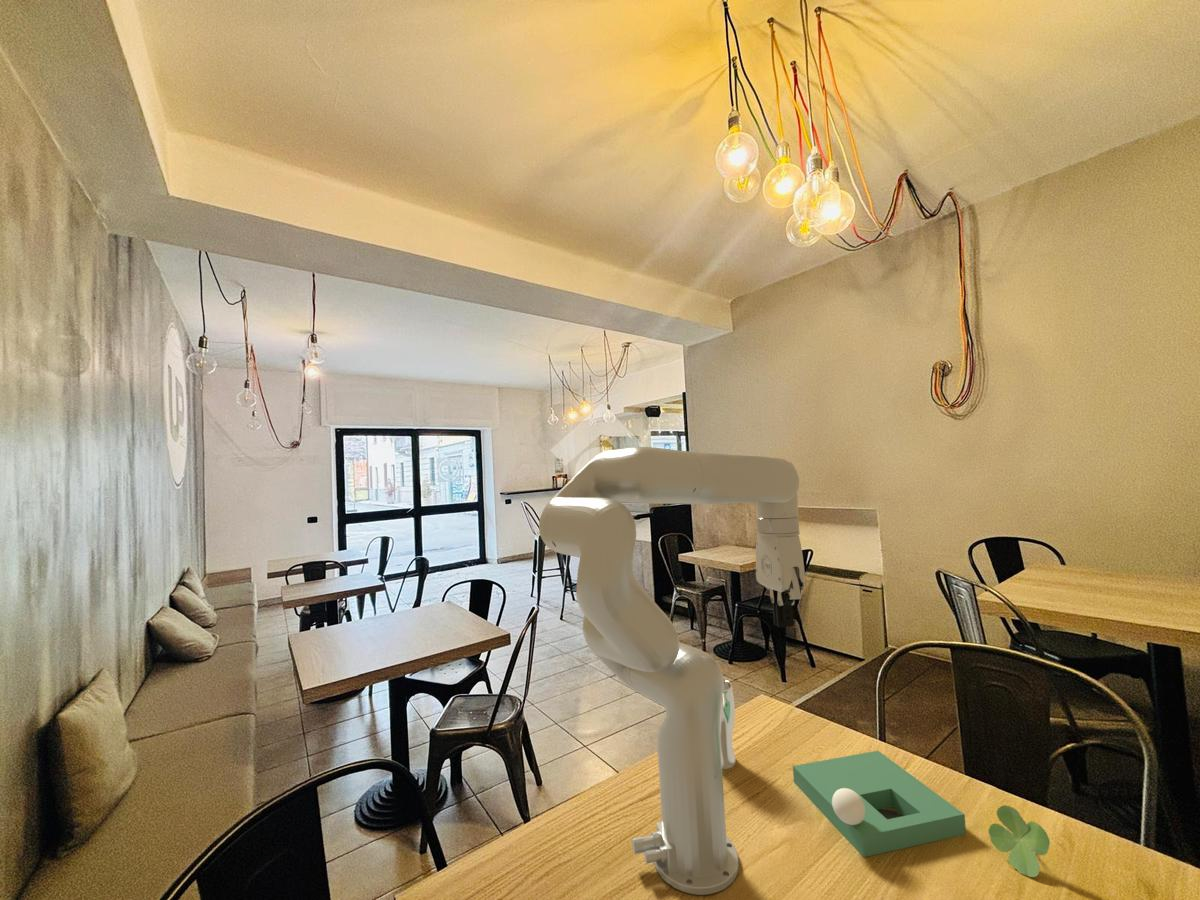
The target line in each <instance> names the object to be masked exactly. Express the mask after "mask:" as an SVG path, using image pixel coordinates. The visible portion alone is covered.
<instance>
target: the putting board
mask: <svg viewBox="0 0 1200 900" xmlns="http://www.w3.org/2000/svg"><path fill="white" fill-rule="evenodd" d="M792 773H793V774H792V775H793V776H792V777H793V783H794V784H795V785H796V786H797V787H798V789H800V791H801V792H802V793H803V794H804V795H805V796H806V797H807V798H808V799H809V800H810V802H812V804H813V805H815V807H816V809H818V810H819V811H820V812H821V813H822V815H824V816H825V818H826V819H827V820H828V821H829V823H831V824H832V825H833V826H834V827H835V828H836V829H837V831H838V832H840V833H841V834H842V836H843V837H844V838H845V839H846V840H847V841H848V842H849V843H850V844H851V845H852V846H853V847H854V848H855V849H856V851H857V852H858V853H859V854H860V855H861V856H862V857H863V858H867V857H871V856H876V855H881V854H884V853H889V852H893V851H898V850H903V849H906V848H911V847H915V846H919V845H920V846H921V845H925V844H930V843H932V842H937V841H943V840H947V839H950V838H954V837H955V838H956V837H960V836H964V835H966V834H967V829H966V819H965V818H966V816H965V815H966V814H965V813H963V812H962V811H961V810H960V809H958V808H956V807H955V805H952V803H951V802H949V801H947V799H945V798H943V797H942V796H941V795H939V794H938V793H936V792H935V791H933V790H932V789H931V788H930V787H929V786H927V785H926V784H924V783H923V782H922V781H920V780H919V779H917V778H916V777H915V776H913V775H912V774H910V773H909V772H908V771H907V770H905V769H904V768H902V767H901V766H900V765H898V764H897V763H896V762H894V761H893V760H892V759H890V757H887V756H886V755H885V754H884V753H882V752H881V751H879V750H874V751H869V752H862V753H857V754H850V755H845V756H840V757H836V758H835V757H834V758H829V759H824V760H819V761H814V762H807V763H803V764H797V765H792ZM841 788H847V789H851V790H853V791H854V792H856V793H857V794H858V795H859V796H860V798H861V799H862V801H863V803H864V806H865V817H864V819H863V821H862V822H861V823H859V824H857V825H850V824H847V823H845V822H843V821H842V820H840V819H839V818H838V816H837V815H836V813H835V812H834V809H833V806H832V798H833V795H834V793H835V792H836V791H837V790H839V789H841ZM889 808H894V809H895V810H890V809H889ZM896 811H897V812H896Z"/></svg>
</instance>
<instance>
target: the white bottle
mask: <svg viewBox="0 0 1200 900" xmlns="http://www.w3.org/2000/svg"><path fill="white" fill-rule="evenodd" d="M733 692H734V690H733V684H732V682H730V681H729V680H727V679H725V678H723V695H722V703H721V711H720V747H721V761H722V770H729V769H732V768H733V767H734V766H735V765H736V755H735V751H734V747H733V745H734V743H733V736H734V727H735V726H734V725H735V718H736V717H735V715H736V713H735V712H736V711H735V699H734V698H735V697H734V693H733Z"/></svg>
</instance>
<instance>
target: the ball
mask: <svg viewBox="0 0 1200 900" xmlns="http://www.w3.org/2000/svg"><path fill="white" fill-rule="evenodd" d="M832 806H833V809H834V812H835V813H836V815H837V816H838V818H839V819H840V820H842V821H843V822H845V823H847V824H850V825H857V824H859V823H861V822H862V821H863V819H864V817H865V806H864V803H863V801H862V799H861V798H860V796H859V795H858V794H857V793H856V792H854V791H853V790H851V789H847V788H841V789H839V790H837V791H836V792H835V793H834V795H833V798H832Z"/></svg>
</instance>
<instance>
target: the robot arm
mask: <svg viewBox="0 0 1200 900" xmlns="http://www.w3.org/2000/svg"><path fill="white" fill-rule="evenodd" d="M799 487H800V477H799V474H798V471H797V469H796V467H795V465H794V464H793V463H792V462H790V461H789V460H786V459H783V458H777V457H768V456H757V455H743V454H742V455H738V454H737V455H736V454H726V453H717V452H715V453H713V452H700V451H689V450H678V449H670V448H661V447H651V446H650V447H649V446H635V447H633V446H632V447H626V448H617V449H610V450H604V451H603V452H600V453H599V454H597V455H596V456H594V457H593V458H592V459H591V460H590V461H589V462H588V463H587V464H585V465H584V466H583V467H582V468H581V469H580V470H579V471H578V472H577V473H576V474H575V475H574V476H573V477H572V478H571V479H570V480H569V481H568V482H567V483H565V485H564V486H563V487H562V488H561V489H559V491H558V492H557V493H556V494H555V495H554V496H553V497H552V498H551V499H550V500H549V501H548V502H547V504H546V505H545V506H544V508H543V510H542V512H541V515H540V517H539V523H538V524H539V525H538V530H539V535H540V538H541V540H542V542H543V543H544V545H545V546H546V547H547V548H548V549H549V550H551V551H553V552H555V553H558V554H560V555H565V556H571V557H576V558H579V563H578V567H577V577H576V589H575V590H576V594H575V595H576V599H577V604H578V606H579V608H580V610H581V612H582V613H583V615H584V616H583V621H582V632H583V633H582V634H583V636H584V641H585V643H586V645H587V647H588V649H590V651H591V652H592V653H593V654H594V655H595V656H596V657H597V658H598V659H599V660H600V662H601V663H603V664H604V665H605V666H606V668H608V669H609V670H610V671H611V672H612V673H613V674H614V675H615V676H616V677H617V678H618V679H619V680H620V681H621V682H622V683H624V684H625V686H627V687H628V688H629V689H631V690H633V691H634V692H636V693H638V694H640V695H642V696H643V697H645V698H647V699H650V700H651V701H654V702H655V703H656V704H659V705H661V706H662V707H663V708H664V709H665V717H664V719H663V722H661V725H660V726H659V729H658V732H657V740H656V741H657V743H656V746H657V748H656V750H657V762H658V777H659V797H660V798H659V799H660V811H661V813H660V814H661V821H659V822H657V821H656V831H651V833H650V835H646V836H638V837H634V838H631V847H632V852H633V853H632V854H634V855H640V854H643V856H644V861H645V864H652V863H654V867H655V870H656V871H657V872H658V874H659V876H660V877H661V878H662V879H663V880H664V882H666V883H667V884H668V885H669V886H671V887H672V888H674V889H676V890H678V891H680V892H683V893H687V894H690V895H696V896H697V895H699V896H700V895H701V896H703V895H712V894H716V893H719V892H720V891H724V890H725V889H726V888H728V887H729V886H730V885H731V884H732V883H733V882H734V881H735V879H736V878H737V875H738V872H739V870H740V869H739V868H740V867H739V866H740V864H739V863H740V862H739V856H738V855H739V854H738V851H737V848H736V846H735V845H734V843H733V842H732V840H731V839H730V838H729V837H728V836H727V830H726V828H727V827H726V813H725V811H726V809H725V798H724V797H725V796H724V794H725V793H724V781H723V769H722V761H721V747H720V711H721V703H722V695H723V679H724V675H723V672H722V669H721V667H720V665H719V664H718V662H717V661H716V660H715V659H714V658H713V657H712V656H711V655H710V654H708V653H706V652H705V651H704V650H701V649H699V648H697V647H694V646H690V645H689V644H686V643H682V642H680V638H679V633H678V631H677V628H676V627H675V625H674V623H673V622H672V620H671V618H669V617H668V615H667V614H666V613H665V612H664V611H663V609H661V607H660V606H659V605H658V604H657V603H656V602H655V601H654V600H653V598H652V597H651V596H650V595H649V594H648V593H647V592H646V590H644V588H643V587H642V586H641V585H640V584H639V581H637V579H636V577H635V575H634V569H633V568H634V567H633V561H634V554H635V547H636V541H637V526H636V523H635V518H634V515H633V514H632V512H631V510H630V509H629V508H628V507H627V506H626V505H625V504H624V503H630V504H631V503H633V504H652V505H653V504H658V505H660V504H665V505H669V504H670V505H723V504H735V503H746V504H747V503H749V504H750V503H755V513H756V515H755V517H756V530H757V531H756V532H757V535H756V541H755V543H756V544H755V579H756V582H757V583H758V584H759V585H762V586H764V587H765V589H767V591H768V592H769V596H770V597H769V598H770V601H771V603H772V615H773V616H772V617H773V625H774V626H776V627H778V628H788V627H794V625H795V621H794V618H795V617H794V605H795V600H801V599H802V594H801V591H803V590H804V589H805V587H806V572H805V564H804V555H803V548H802V544H801V540H800V539H801V538H800V519H799V506H798V503H799V501H798V491H799Z"/></svg>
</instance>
